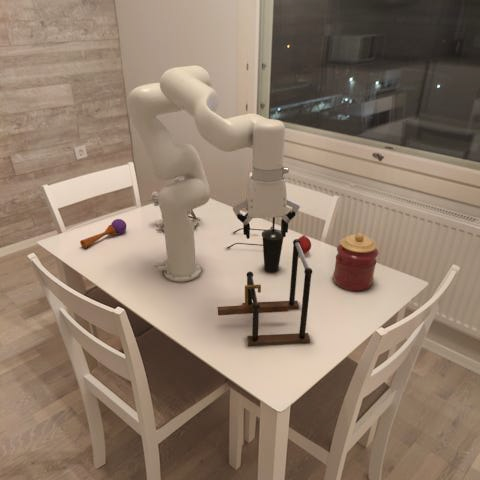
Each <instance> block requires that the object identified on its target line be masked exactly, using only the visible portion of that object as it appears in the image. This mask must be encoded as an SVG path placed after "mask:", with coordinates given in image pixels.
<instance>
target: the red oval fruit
mask: <svg viewBox="0 0 480 480" xmlns="http://www.w3.org/2000/svg"><path fill="white" fill-rule="evenodd" d="M297 239H298V240H299V241H300V246H301V249H302V251H303V254H304V255H305V254H307V253H308V252H310V251H311V249H312V242H311V240H310V239H309V237H307V236H306V234H303V235H302V236H300V237H298V238H297Z"/></svg>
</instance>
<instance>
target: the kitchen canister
mask: <svg viewBox="0 0 480 480" xmlns="http://www.w3.org/2000/svg"><path fill="white" fill-rule="evenodd" d="M336 252H337V254H336V255H335V264H334V265H335V266H334V270H333V274H332V278H333V282H334V283H335V284H336V285H337V286H338V287H340V288H342V289H344V290H347V291H352V292H359V291H365V290H368V289H369V288H370V287H371V286H372V284H373V282H374V276H375V275H374V274H375V269H376V265H377V259H376V258H377V257H378V255H379V250H378V245H377V242H376V241H374V240H373V239H372V238H371V237H369V236H367V235H364V234H363V233H361V232H359V233H356V234H350V235H347V236H345V237H343V238H341V240H340V243H339V244H338V245H337V246H336Z"/></svg>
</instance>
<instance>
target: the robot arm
mask: <svg viewBox="0 0 480 480" xmlns="http://www.w3.org/2000/svg"><path fill="white" fill-rule="evenodd" d="M218 106H219V96H218V93H217V91H216V90H215V89H214V88H213V87H212V79H211V76H210V74H209V72H208V71H207V70H206V69H205V68H204V67H202V66H199V65H195V64H194V65H186V66H177V67H172V68H169V69H167V70H166V71H164V72H163V74H162V75H161V77H160V79H159V82H154V83H146V84H142V85H139V86H136V87H135V88H133V89H132V90H131V91H130V93H129V95H128V98H127V112H128V115H129V117H130V120H131V123H132V124H133V126H134V129H135V130H136V132H137V133H138V135H139V137H140V139H141V143H142V145H143V148H144V151H145V154H146V156H147V159H148V163H149V165H150V168H151V171H152V173H153V175H154V177H155V178H156V179H157V180H159V181H170V180H173V179H175V178H176V177H178V178H179V177H180V176H181V177H182V176H183V178H184V179H185V180H184V179H183V180H182V181H179V182H176V183H175V182H173V183H170V184H168V185H166V186H164V187H161V188H162V189H161V188H160V189H161V191H160V192H159V191H158V193H159V194H158V203H159V205H158V206H159V209H160V213H161V218H162V217H163V219H162V221H163V223H164V231H163V232H164V240H165V250H166V260H164V261H154V268H157V271H163V275H164V277H165V278H166V279H167V280H170V281H173V282H178V283H179V282H183V283H184V282H189V281H192V280H195V279H196V278H198V277H199V276H200V275H201V271H202V269H201V266H200V265H199V264H198V263H197V262H196V261H197V260H196V245H195V244H196V243H195V242H196V241H195V230H194V228H195V226H194V227H193V223H192V221H191V220H192V218H189V217H188V216H189V215H188V216H187V212H188V211H191V210H192V209H193V210H195V209H198V208H200V207H202V206H204V205H206V204H207V203H208V202H209V200H210V198H211V189H210V185H209V183H208V182H209V181H208V178H207V176H206V172H205V169H204V166H203V163H202V160H201V157H200V155H199V152H198V150H197V149H196V148H195V147H194V146H193V145H192V144H190V143H187V142H180V143H176V144H174V143H173V141H172V137H171V134H170V132H169V130H168V128H167V127H166V126H165V124H164V123H163V122H162V121H160V119H158V118H157V116H162V115H167V114H172V113H177V112H181V111H184V112H186V113H187V114H189V115H190V116H192V117H193V119H194V123H195V127H196V129H197V131H198V133H199V135H200V136H201V138H202V139H203V140H205V141H206V142H207V143H209V144H210V145H212V147H214V148H216V149H218V150H220V151H222V152H227V153H232V152H235V151H238V150H242V149H245V148H249V147H252V163H251V165H252V167H251V169H252V172H251V173H252V175H251V176H249V177H248V181H247V187H246V198H245V200H243V201H241V202H240V203H238V204H235V205H234V206H232V211H233V212H234V215H235V216H236V219H238V220H239V222H241V223H242V224H243V226H242V227H243V229H242V230H243V231H242V232H243V235H244V236H245V237H246V239H247V240H249V239H250V237H251V230H250V229H251V225H250V222H251V221H252V220H253V219H265V218H267V219H269V218H273V217H275V218H281V220H280V221H281V222H280V231H281V234H282V236H283V237H284V238H286V237H287V236H286V235H287V233H288V232H289V223H291V220H293V219H294V218H295V216H296V215H297V213H298V211H299V209H300V208H301V207H300V204H299V203H297V202H295V201H293V200H290V199H289V198H288V197H287V182H286V177H285V174H289V173H290V169H289V167H286V166H284V157H285V156H284V155H285V136H286V126H285V123H284V122H283V121H282V120H279V119H273V118H266V117H264V116H262V115H260V114H257V113H246V114H241V115H235V116H232V117H228V118H225V117H222V116H220V115H219V114H217V113H216V111H217V108H218ZM288 207H290V208H291V210H289V211H288V212H287V208H288ZM244 209H245V210H246V213H245V214H244V215H243V214H242V213H241V210H244Z"/></svg>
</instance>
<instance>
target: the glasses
mask: <svg viewBox="0 0 480 480" xmlns="http://www.w3.org/2000/svg"><path fill="white" fill-rule="evenodd" d="M270 229H272V226H271V227H270ZM241 230H243V228H238V229H236V230H234V231H232V232H233V234H236V233H237V232H239V231H241ZM265 230H266V229H263V228H262V229H260V228H250V231H262V232H263V231H265ZM235 245H247V246H260V247H261V246H262V247H263V244H261V243H260V244H258V243H244V242H235V243H233V244H231V245H229V246H227V247H226V248H227V249H230V248H231V247H233V246H235Z"/></svg>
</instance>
